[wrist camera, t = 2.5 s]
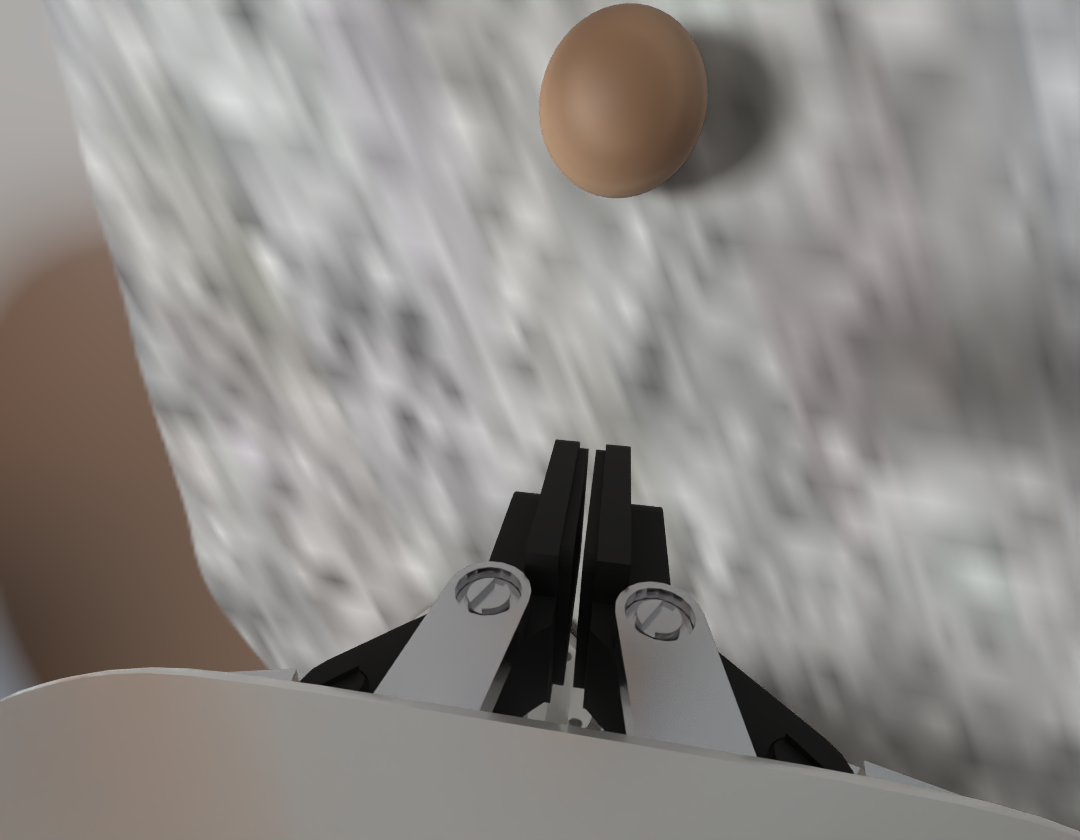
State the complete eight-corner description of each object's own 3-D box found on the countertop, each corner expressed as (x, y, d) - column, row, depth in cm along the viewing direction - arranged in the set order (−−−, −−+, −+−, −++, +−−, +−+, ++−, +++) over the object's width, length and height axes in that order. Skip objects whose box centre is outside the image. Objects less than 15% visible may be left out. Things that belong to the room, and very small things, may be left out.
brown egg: (604, 226, 22) (598, 237, 17) (521, 107, 20) (488, 79, 15) (725, 131, 20) (759, 110, 15) (642, -8, 18) (648, -82, 13)
